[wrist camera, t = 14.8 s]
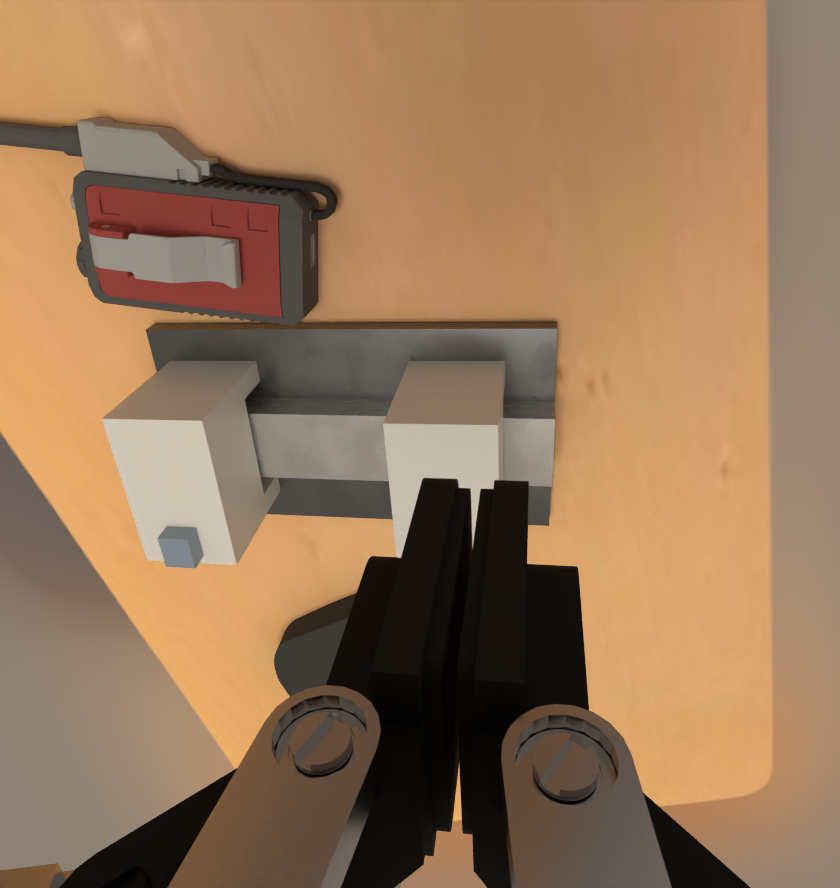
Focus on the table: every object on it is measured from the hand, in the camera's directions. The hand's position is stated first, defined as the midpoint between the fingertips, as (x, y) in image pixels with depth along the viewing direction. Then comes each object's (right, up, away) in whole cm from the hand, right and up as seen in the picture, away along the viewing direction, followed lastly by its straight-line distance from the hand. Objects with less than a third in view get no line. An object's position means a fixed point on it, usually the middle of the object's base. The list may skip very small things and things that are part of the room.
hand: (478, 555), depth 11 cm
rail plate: (-5, +3, +28) cm, 29 cm away
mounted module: (-12, +3, +29) cm, 31 cm away
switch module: (+1, +2, +27) cm, 27 cm away
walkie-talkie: (-15, +14, +25) cm, 32 cm away
